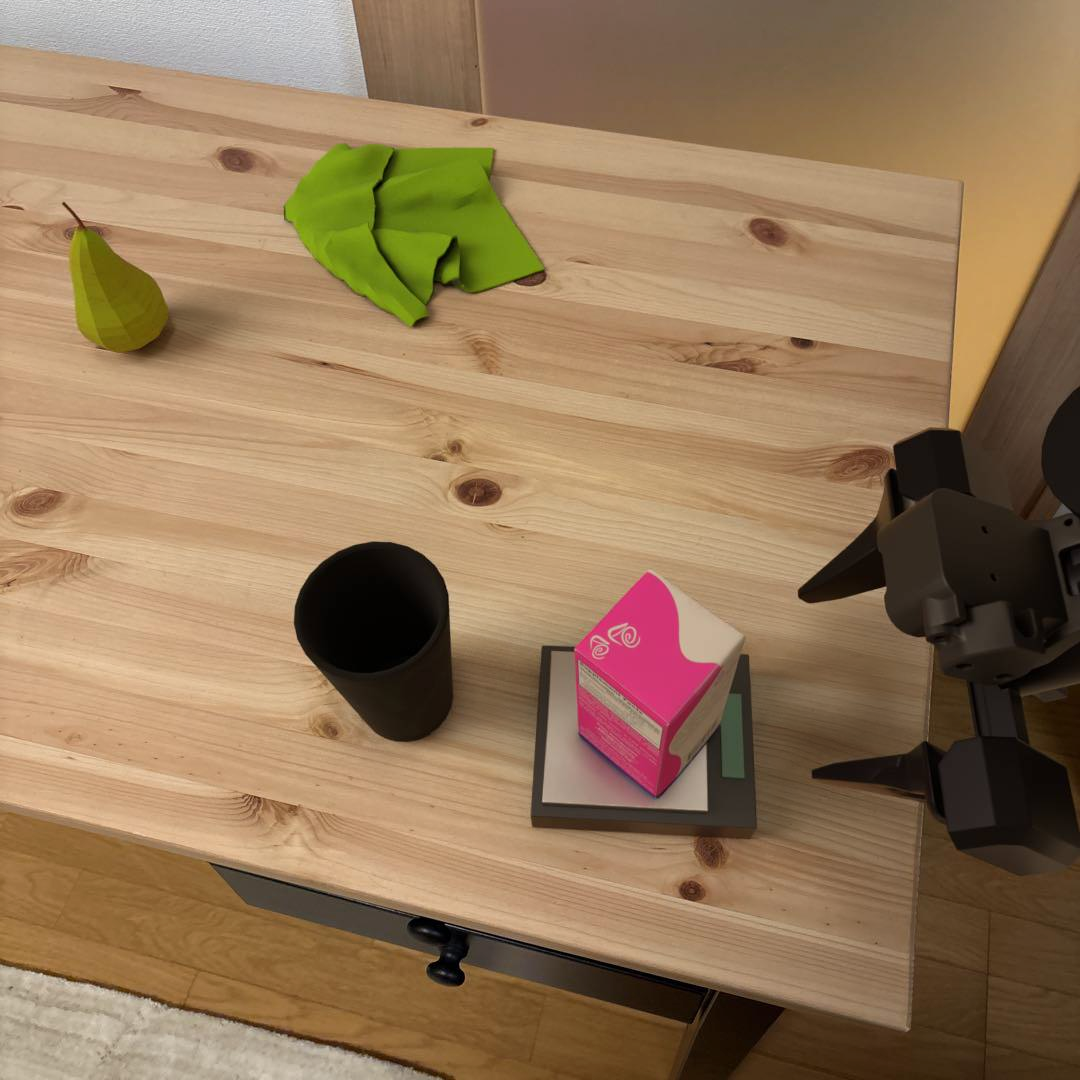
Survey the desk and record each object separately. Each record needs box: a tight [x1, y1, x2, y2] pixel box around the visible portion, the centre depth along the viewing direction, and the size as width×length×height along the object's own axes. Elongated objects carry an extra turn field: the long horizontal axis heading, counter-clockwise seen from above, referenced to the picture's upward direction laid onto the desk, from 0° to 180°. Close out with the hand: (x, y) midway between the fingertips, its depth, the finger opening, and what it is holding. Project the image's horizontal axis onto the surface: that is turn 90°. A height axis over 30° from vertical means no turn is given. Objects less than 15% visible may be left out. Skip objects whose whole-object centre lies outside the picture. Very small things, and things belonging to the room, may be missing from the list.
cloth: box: [283, 142, 545, 328], centre depth 78 cm, size 20×22×2 cm
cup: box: [293, 541, 454, 743], centre depth 54 cm, size 8×8×12 cm
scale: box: [530, 644, 758, 840], centre depth 56 cm, size 12×10×3 cm
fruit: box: [61, 201, 170, 354], centre depth 70 cm, size 6×6×12 cm
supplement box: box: [574, 568, 746, 799], centre depth 50 cm, size 6×6×12 cm
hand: (808, 682), depth 48 cm, fingers open, 9 cm apart
